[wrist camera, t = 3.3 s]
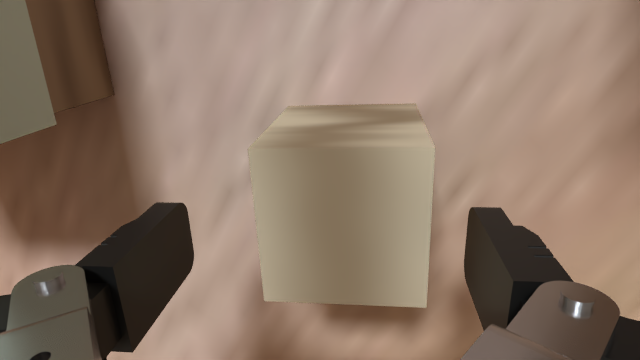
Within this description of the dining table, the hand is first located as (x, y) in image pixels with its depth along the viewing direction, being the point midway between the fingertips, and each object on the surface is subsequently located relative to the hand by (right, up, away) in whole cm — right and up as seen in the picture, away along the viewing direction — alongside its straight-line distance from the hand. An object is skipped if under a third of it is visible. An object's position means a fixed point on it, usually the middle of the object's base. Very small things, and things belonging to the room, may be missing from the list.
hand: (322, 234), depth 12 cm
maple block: (+1, +2, +6) cm, 6 cm away
